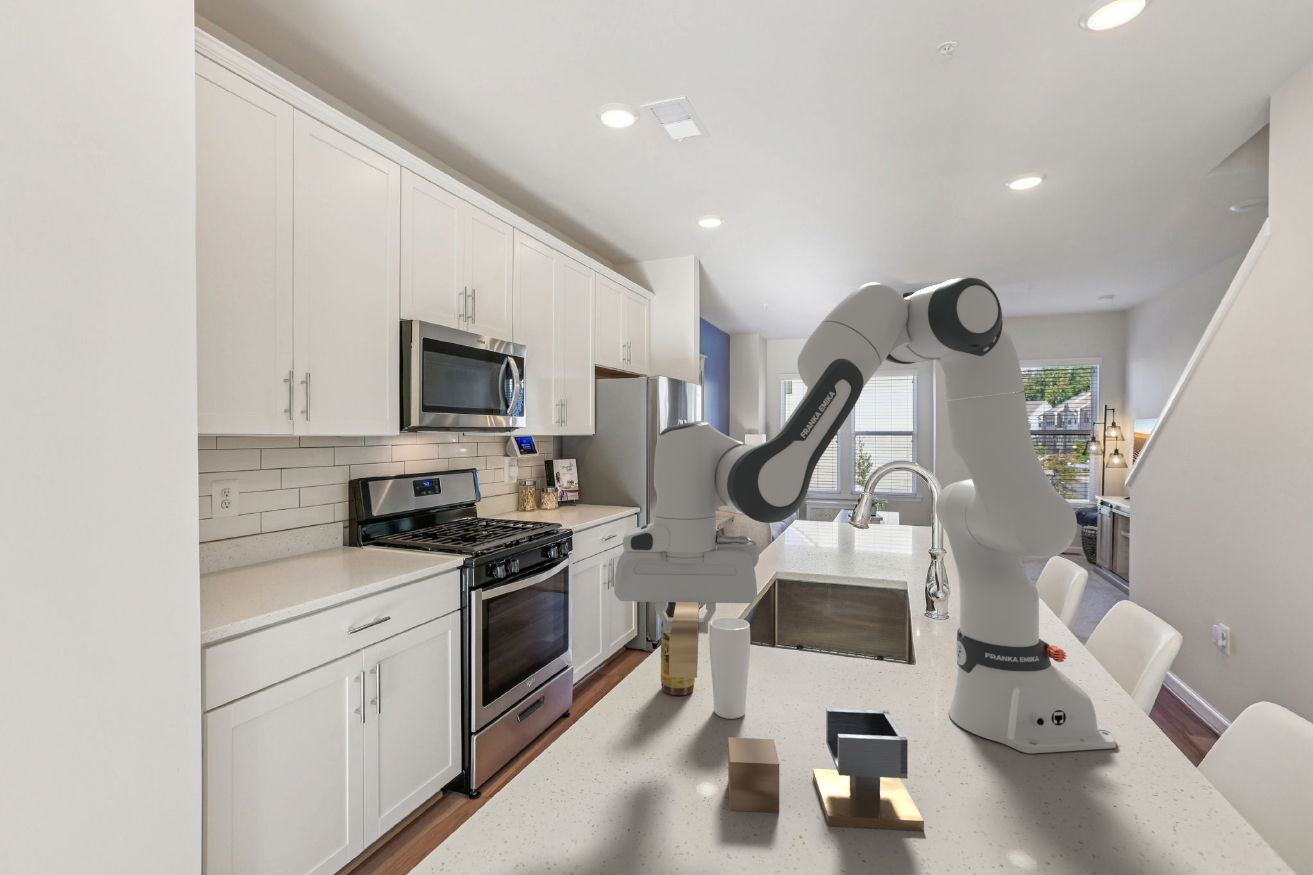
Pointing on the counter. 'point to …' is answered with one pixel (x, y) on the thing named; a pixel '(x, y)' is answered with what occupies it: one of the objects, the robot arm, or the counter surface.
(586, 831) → the counter surface
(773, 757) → the walnut block
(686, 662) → the oak rail
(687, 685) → the sauce bottle
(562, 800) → the counter surface
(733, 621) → the drinking glass
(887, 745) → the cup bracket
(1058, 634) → the counter surface
